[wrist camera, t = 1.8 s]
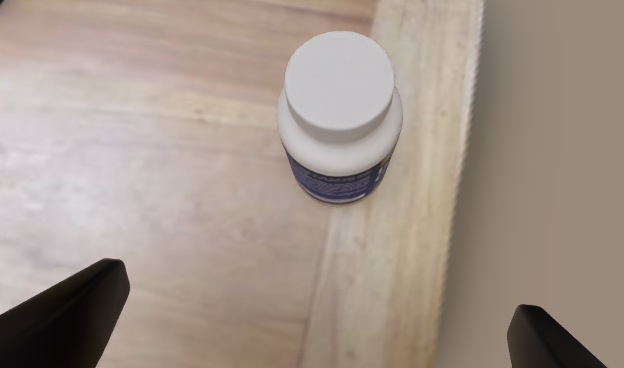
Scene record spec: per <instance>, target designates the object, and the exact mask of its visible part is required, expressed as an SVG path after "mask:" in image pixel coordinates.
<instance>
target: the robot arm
mask: <svg viewBox="0 0 624 368" xmlns="http://www.w3.org/2000/svg"><path fill="white" fill-rule="evenodd" d="M129 292H130V283H129V280H128V276H127V272H126V268H125V265H124V263H123V261H122V260H119V259H111V258H104V259H102V260H100V261H98V262H96V263H94V264H92V265H90V266H89V267H87V268H85V269H83V270H81V271H80V272H78V273H76V274H74V275H72V276H70V277H69V278H67V279H65V280H63V281H61V282H59V283H58V284H56V285H54V286H52V287H50V288H49V289H47V290H45V291H43V292H41V293H39V294H38V295H36V296H34V297H32V298H30V299H28V300H27V301H25V302H23V303H21V304H19V305H17V306H16V307H14V308H12V309H10V310H8V311H7V312H5V313H3V314H1V315H0V368H95V367H96V365H97V363H98V361H99V360H100V358H101V356H102V354H103V352H104V350H105V348H106V345H107V343H108V341H109V339H110V336H111V334H112V332H113V330H114V327H115V325H116V323H117V320H118V318H119V316H120V314H121V311H122V309H123V307H124V304H125V302H126V300H127V298H128V295H129ZM507 340H508V346H509V352H510V358H511V363H512V368H607V367H606V366H605V365H604V364H603V363H602V362H600V361H599V360H598V359H597V358H596V357H595V356H594V355H593V354H592V353H591V352H590V351H588V350H587V349H586V348H585V347H584V346H583V345H582V344H581V343H580V342H579V341H578V340H576V339H575V338H574V337H573V336H572V335H571V334H570V333H569V332H568V331H567V330H565V329H564V328H563V327H562V326H561V325H560V324H559V323H558V322H556V320H555V319H553V318H552V317H551V316H550V315H549V314H548V313H547V312H546V311H545V310H544V309H542V308H541V307H539V306H533V305H525V304H522V305H519V306H518V307H517V308H516V311H515V313H514V316H513V318H512V321H511V323H510V326H509V328H508V332H507Z"/></svg>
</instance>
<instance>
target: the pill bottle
mask: <svg viewBox="0 0 624 368" xmlns="http://www.w3.org/2000/svg"><path fill="white" fill-rule="evenodd" d="M276 117H277V126H278V130H279V134H280V138H281V141H282V144H283V146H284V149H285V151H286V154H287V157H288V159H289V162H290V165H291V168H292V171H293V173H294V176H295V178H296V180H297V182H298V184H299V185H300V187H301V188H302V189H303V191H304V192H305V193H306V194H307V195H308V196H310V197H311V198H312V199H314V200H316V201H317V202H320V203H322V204H325V205H329V206H336V207H341V206H349V205H353V204H356V203H358V202H360V201H362V200H364V199H365V198H367V197H368V196H369V195H371V194H372V193H373V192H374V191H375V190H376V188H377V187H378V186H379V184H380V182H381V181H382V179H383V177H384V174H385V172H386V169H387V167H388V164H389V162H390V159H391V156H392V153H393V151H394V148H395V146H396V143H397V141H398V138H399V135H400V131H401V127H402V121H403V109H402V103H401V99H400V95H399V93H398V90H397V88H396V86H395V73H394V68H393V65H392V63H391V60H390V58H389V56H388V55H387V53H386V52H385V51H384V50H383V48H382V47H381V46H380V45H378V44H377V43H376V42H375V41H373V40H372V39H370V38H368V37H366V36H364V35H361V34H358V33H355V32H350V31H331V32H327V33H323V34H319V35H317V36H315V37H313V38H311V39H309V40H308V41H306V42H305V43H303V44H302V45H301V46H300V47H299V48H298V49H297V50H296V51H295V52H294V54H293V55H292V57H291V58H290V60H289V62H288V64H287V67H286V71H285V76H284V87H283V89H282V91H281V93H280V96H279V100H278V103H277V113H276Z"/></svg>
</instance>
